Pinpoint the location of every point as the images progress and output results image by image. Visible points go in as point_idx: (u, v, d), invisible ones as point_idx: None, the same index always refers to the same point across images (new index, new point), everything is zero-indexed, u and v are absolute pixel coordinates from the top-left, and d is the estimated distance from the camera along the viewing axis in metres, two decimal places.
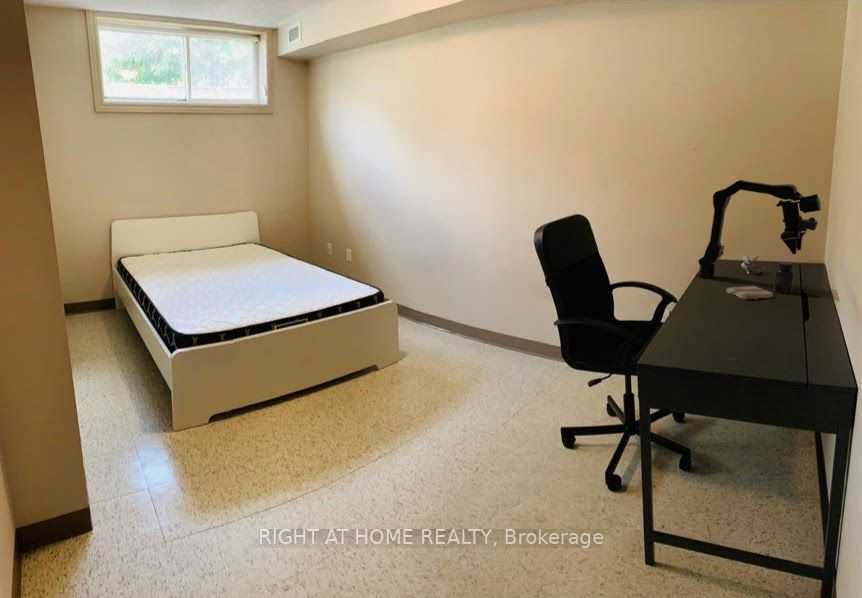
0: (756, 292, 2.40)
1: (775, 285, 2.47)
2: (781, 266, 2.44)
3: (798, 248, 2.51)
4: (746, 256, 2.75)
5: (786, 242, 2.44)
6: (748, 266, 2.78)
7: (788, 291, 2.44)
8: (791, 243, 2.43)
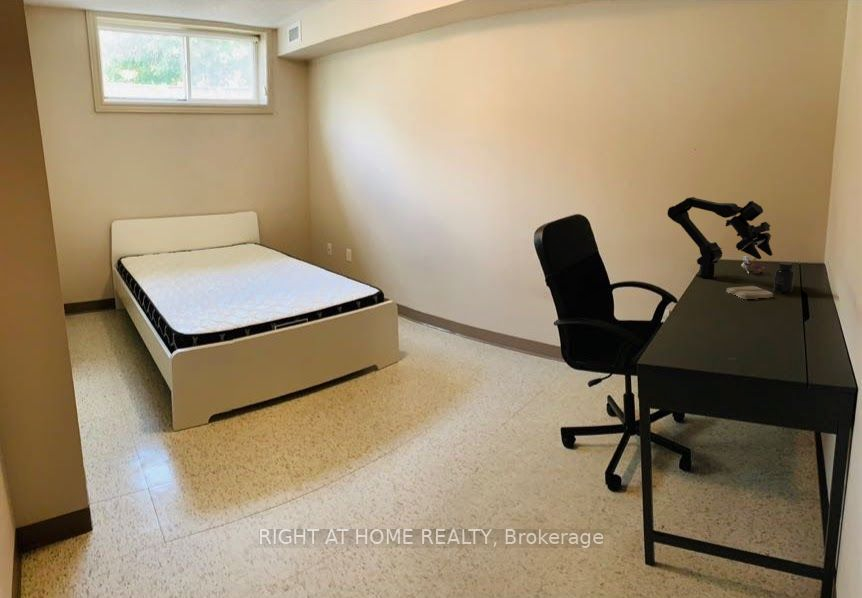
0: (756, 292, 2.40)
1: (775, 285, 2.47)
2: (781, 266, 2.44)
3: (769, 254, 2.53)
4: (746, 256, 2.75)
5: (746, 251, 2.50)
6: (748, 266, 2.78)
7: (788, 291, 2.44)
8: (751, 250, 2.49)
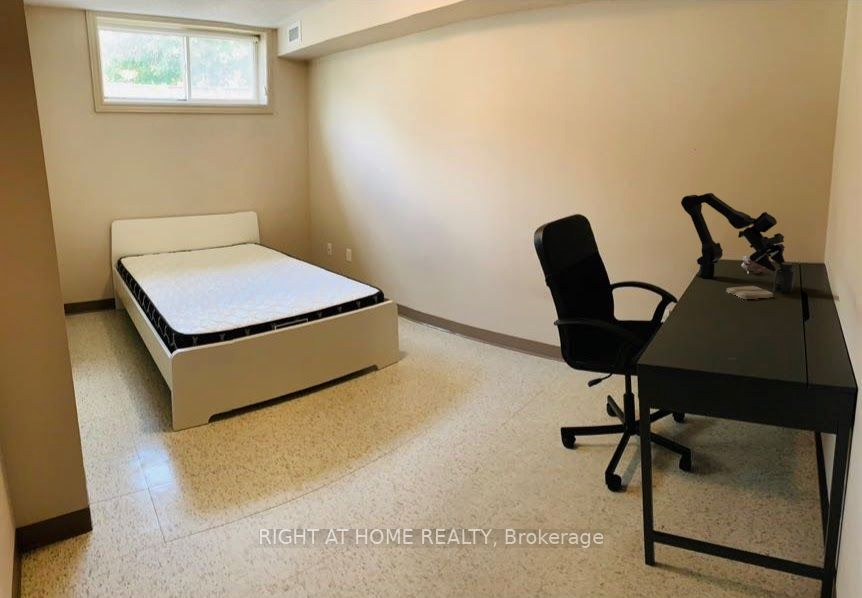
0: (756, 292, 2.40)
1: (775, 285, 2.47)
2: (781, 266, 2.44)
3: None
4: (746, 256, 2.75)
5: (760, 263, 2.46)
6: (748, 266, 2.78)
7: (788, 291, 2.44)
8: (765, 262, 2.45)
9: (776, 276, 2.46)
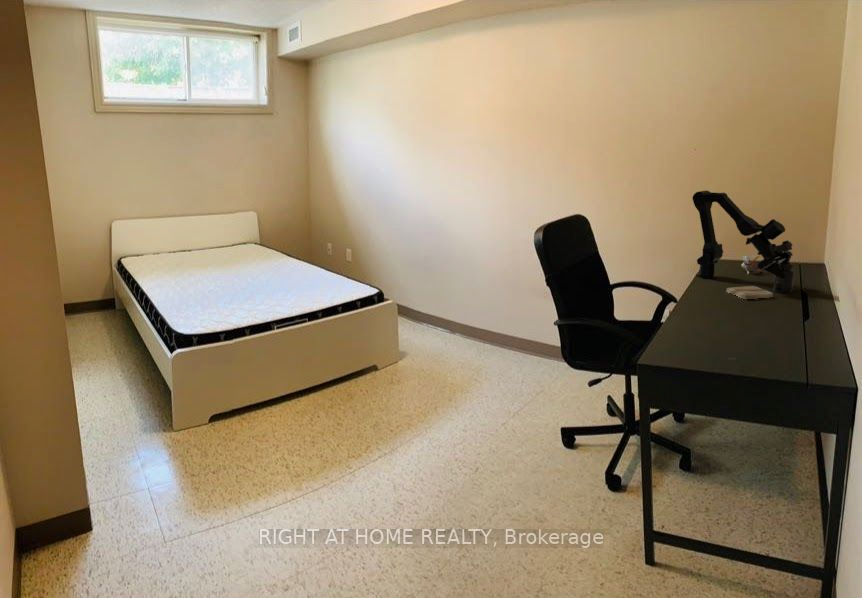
0: (756, 292, 2.40)
1: (775, 285, 2.47)
2: (781, 266, 2.44)
3: None
4: (746, 256, 2.75)
5: (769, 270, 2.45)
6: (748, 266, 2.78)
7: (788, 291, 2.44)
8: (774, 269, 2.44)
9: (776, 276, 2.46)
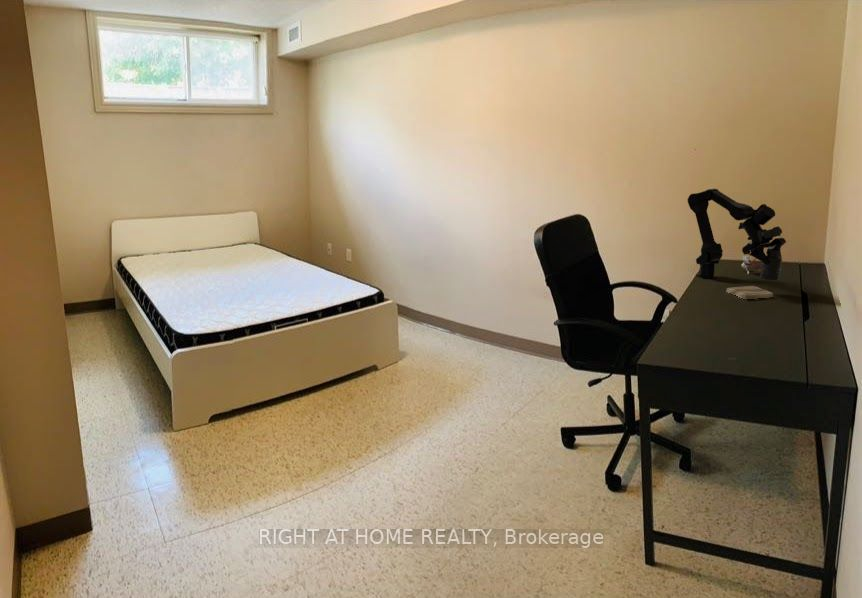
0: (756, 292, 2.40)
1: (761, 271, 2.43)
2: (767, 252, 2.40)
3: None
4: (746, 256, 2.75)
5: (754, 255, 2.42)
6: (748, 266, 2.78)
7: (773, 278, 2.40)
8: (759, 255, 2.41)
9: (762, 262, 2.42)
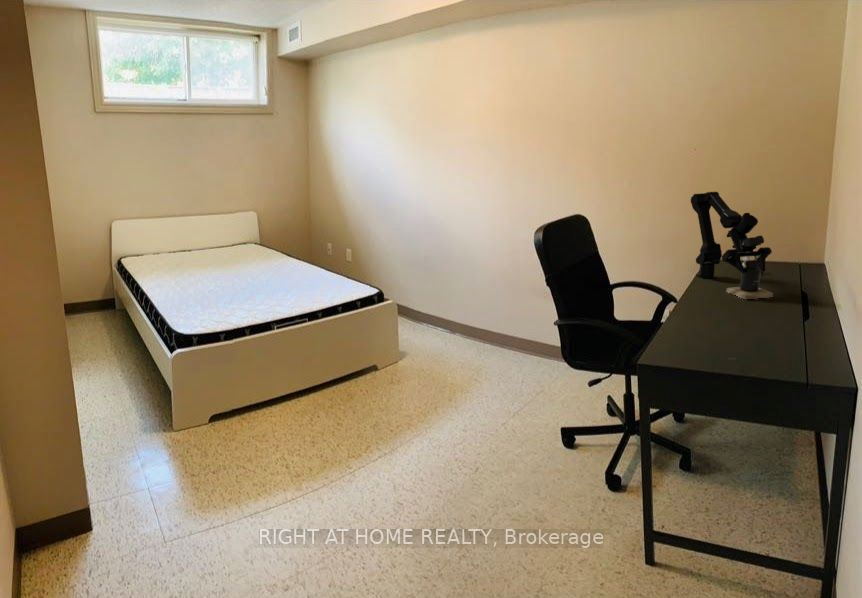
0: (756, 292, 2.40)
1: (740, 282, 2.44)
2: (746, 263, 2.41)
3: (762, 270, 2.41)
4: None
5: (732, 264, 2.44)
6: None
7: (750, 289, 2.41)
8: (736, 263, 2.42)
9: None
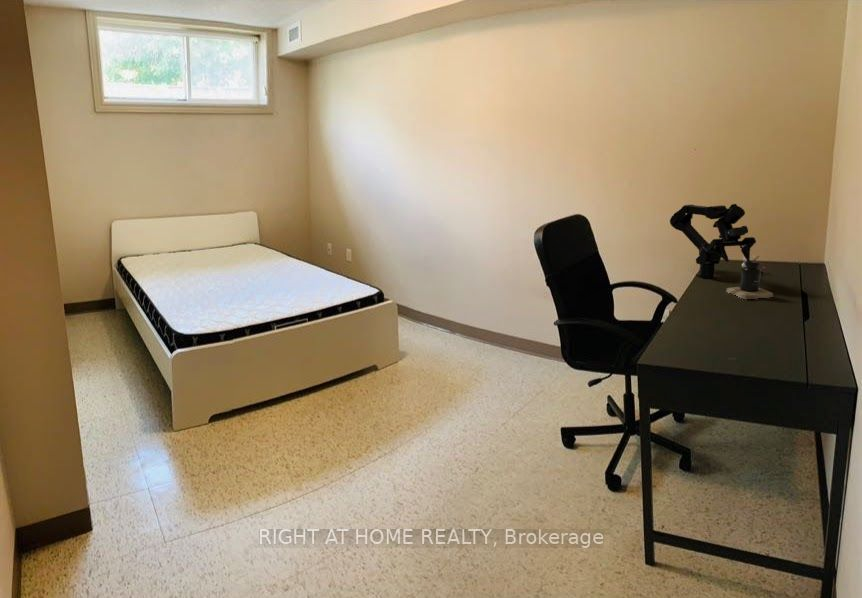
0: (756, 292, 2.40)
1: (740, 282, 2.44)
2: (746, 263, 2.41)
3: (747, 258, 2.52)
4: None
5: (717, 253, 2.55)
6: None
7: (750, 289, 2.41)
8: (721, 252, 2.53)
9: None
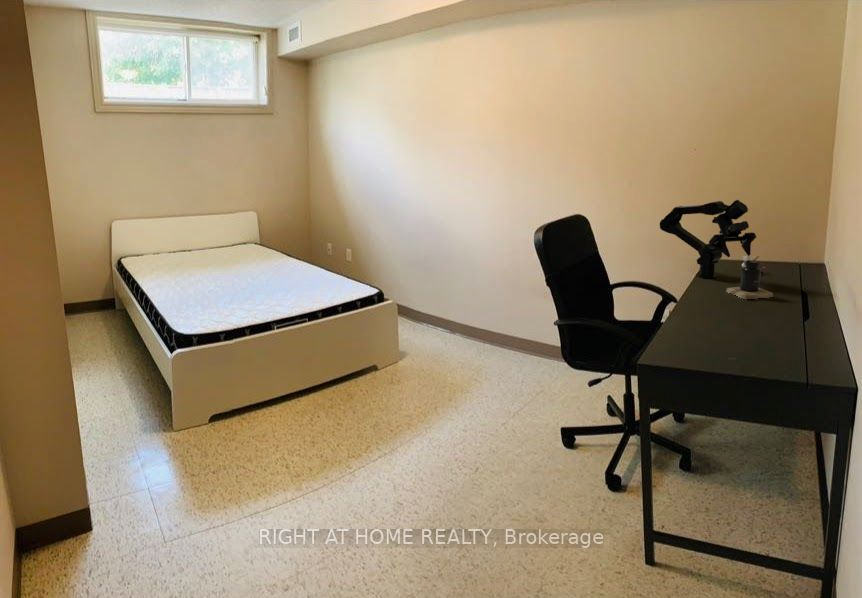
0: (756, 292, 2.40)
1: (740, 282, 2.44)
2: (746, 263, 2.41)
3: (748, 253, 2.54)
4: (746, 256, 2.75)
5: (718, 248, 2.56)
6: None
7: (750, 289, 2.41)
8: (722, 247, 2.55)
9: None
